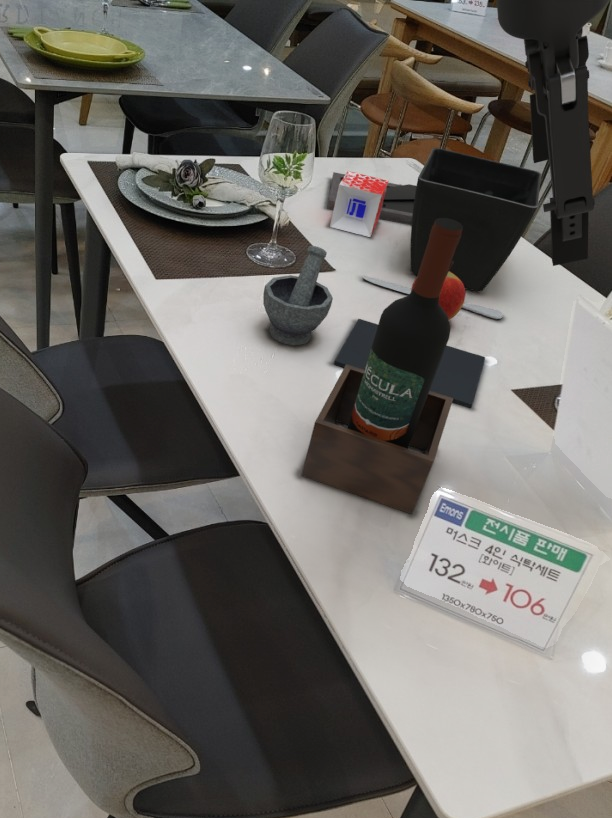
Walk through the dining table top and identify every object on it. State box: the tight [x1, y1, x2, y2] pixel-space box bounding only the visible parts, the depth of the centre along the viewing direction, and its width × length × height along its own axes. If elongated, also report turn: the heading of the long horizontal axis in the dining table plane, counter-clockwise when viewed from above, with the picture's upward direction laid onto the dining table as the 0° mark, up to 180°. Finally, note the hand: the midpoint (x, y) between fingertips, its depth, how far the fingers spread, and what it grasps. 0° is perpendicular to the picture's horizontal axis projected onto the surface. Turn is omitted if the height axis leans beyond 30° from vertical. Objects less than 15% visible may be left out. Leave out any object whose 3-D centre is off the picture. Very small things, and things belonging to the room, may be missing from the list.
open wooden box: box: [301, 364, 453, 515], centre depth 91 cm, size 14×14×8 cm
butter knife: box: [362, 275, 504, 320], centre depth 128 cm, size 1×24×3 cm
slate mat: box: [333, 318, 486, 409], centre depth 112 cm, size 20×14×1 cm
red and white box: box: [329, 170, 389, 238], centre depth 144 cm, size 8×8×8 cm
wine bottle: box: [346, 218, 463, 449], centre depth 84 cm, size 8×8×30 cm
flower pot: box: [409, 147, 542, 293], centre depth 131 cm, size 19×19×17 cm
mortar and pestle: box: [262, 245, 334, 347], centre depth 110 cm, size 11×9×12 cm
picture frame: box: [327, 171, 417, 226], centre depth 155 cm, size 16×2×21 cm
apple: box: [411, 261, 466, 321], centre depth 119 cm, size 8×8×10 cm
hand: (558, 206), depth 68 cm, fingers open, 13 cm apart
